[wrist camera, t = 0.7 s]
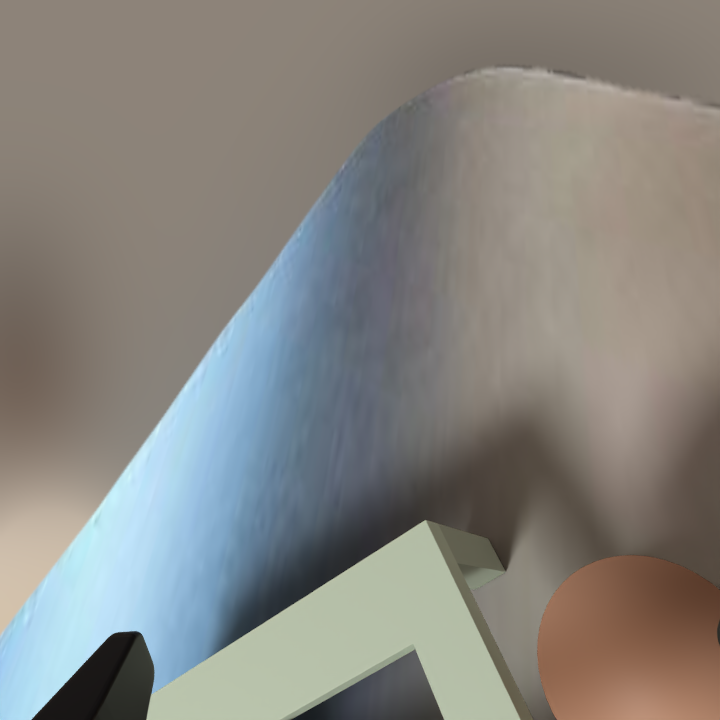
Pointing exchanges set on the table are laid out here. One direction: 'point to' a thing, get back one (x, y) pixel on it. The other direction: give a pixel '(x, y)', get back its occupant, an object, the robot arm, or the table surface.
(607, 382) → the table surface
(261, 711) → the keyhole board
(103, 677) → the robot arm
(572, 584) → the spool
